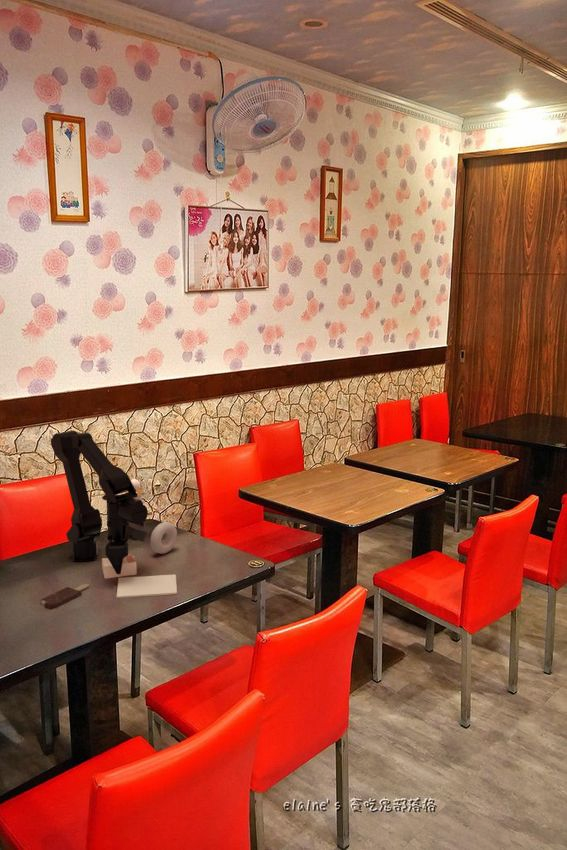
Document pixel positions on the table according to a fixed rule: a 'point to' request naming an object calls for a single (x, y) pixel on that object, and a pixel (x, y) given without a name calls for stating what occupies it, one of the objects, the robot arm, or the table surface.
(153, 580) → the mat
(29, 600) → the table surface
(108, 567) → the card deck
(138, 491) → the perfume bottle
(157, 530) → the donut
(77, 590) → the ice cream bar
